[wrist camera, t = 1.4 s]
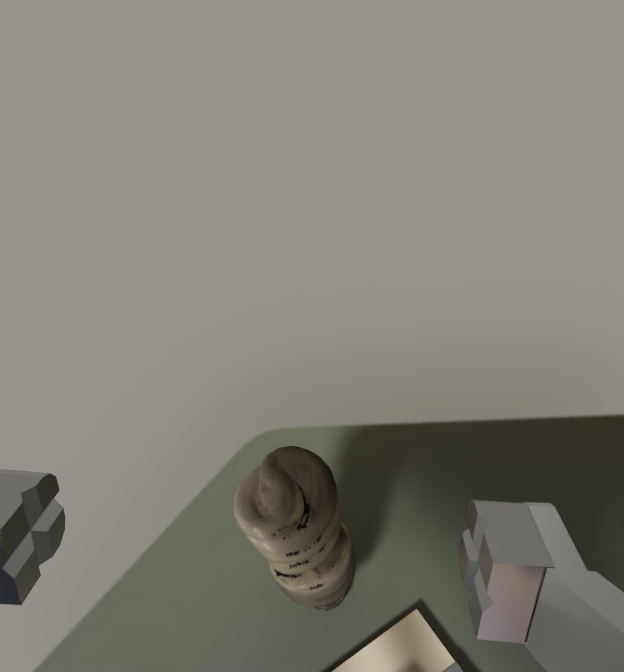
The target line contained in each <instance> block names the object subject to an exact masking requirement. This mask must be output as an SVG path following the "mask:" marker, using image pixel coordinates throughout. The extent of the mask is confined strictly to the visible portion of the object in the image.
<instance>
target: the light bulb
mask: <svg viewBox="0 0 624 672" xmlns="http://www.w3.org/2000/svg"><path fill="white" fill-rule="evenodd" d="M234 516H235V520H236V522H237V524H238V526H239V527H240V528H241V530H242V531H244V533H245V535H246V537H247V538H248V539H249V541H250V542H251V543H252V544H253V545H254V546H255V547H256V549H257V550H258V552H259V553H260V554H261V555H262V556H263V557H265V558H266V559H268V563H269V568H270V570H271V572H272V574H273V576H274V578H275V580H276V582H277V584H278V585H279V586H280V588H281V589H282V590H283V592H284V593H285V594H286V595H287V596H288V597H289V598H290V599H291V600H292V601H294V602H296V603H299V604H302V605H305V606H311V607H314V608H316V609H318V610H319V609H324V610H330V609H332V608H334V607H337V606H339V604H340V603H341V602H342V601H343V599H344V598H345V596H346V591H347V588H348V587H349V585H350V584H351V581H352V579H353V575H354V570H355V557H354V551H353V545H352V541H351V538H350V535H349V533H348V530H347V528H346V526H345V525H344V524H343V523H342V522H341V516H340V508H339V499H338V494H337V487H336V483H335V480H334V477H333V474H332V472H331V470H330V468H329V466H328V465H327V464H326V463H325V462H324V461H323V460H322V459H321V458H320V457H319V456H318V455H316V454H315V453H313V452H311V451H309V450H307V449H303V448H300V447H296V446H288V447H281V448H278V449H276V450H274V451H273V452H271V453H269V454H268V455H267V456H266V457H265V458H264V460H263V462H262V464H261V466H260V467H258V468H256V469H255V470H254V471H252V472H251V473H250V474H249V475H248V476H247V477H246V478H245V479H244V480H243V481H242V483H241V485H240V486H239V488H238V490H237V493H236V495H235V499H234Z"/></svg>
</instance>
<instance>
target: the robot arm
mask: <svg viewBox="0 0 624 672" xmlns="http://www.w3.org/2000/svg"><path fill="white" fill-rule="evenodd" d="M58 492H59V486H58V482H57V479H56V476H54V475H52V474H49V473H39V472H27V471H16V470H4V469H3V470H0V604H12V605H22V603H23V601H24V600H25V599H26V597H27V596H28V594H29V592H30V591H31V589H32V588H33V586H34V585H35V583H36V582H37V580H38V579H39V577H40V569H39V565H40V564H42V563H43V562H45V561H47V560H48V559H50V558H51V557H53V555H54V554H55V552H56V550H57V549H58V547H59V545H60V543H61V540H62V537H63V533H64V530H65V514H64V509H63V507H62V506H61V505H60V504H59V503H58V502H57V501H56V500H55V499H54V497H55V496H56V494H57V493H58ZM466 520H467V524H468V527H469V528H468V529H467V530H466V531H465V532H464V533H463V534H462V539H461V545H460V566H461V574H462V578H463V583H464V586H465V587H466V588H467V589H468V590H469V591H470V592H471V598H470V603H469V609H470V613H471V617H472V621H473V625H474V629H475V634H476V638H477V639H482V640H491V641H501V642H511V643H521V644H526V645H525V647H526V648H527V649H528V650H529V651H530V653H531V654H532V655H533V656H534V657H535V659H536V660H537V661H538V662H539V663H540V665H541V666H542V667H543V668H544V669H545V671H546V672H624V592H622V591H621V590H620V589H618V588H617V587H616V586H614V585H613V584H612V583H610V582H609V581H608V580H607V579H605V578H604V577H603V576H601V575H600V574H599V573H597V572H596V571H587V569H586V567H585V565H584V563H583V561H582V559H581V557H580V555H579V553H578V551H577V549H576V547H575V545H574V543H573V541H572V539H571V537H570V535H569V533H568V531H567V530H566V528H565V526H564V524H563V522H562V520H561V518H560V516H559V514H558V512H557V510H556V508H555V507H554V506H553V505H552V504H551V503H534V502H523V503H521V502H503V501H485V500H470V501H469V503H468V506H467V511H466Z"/></svg>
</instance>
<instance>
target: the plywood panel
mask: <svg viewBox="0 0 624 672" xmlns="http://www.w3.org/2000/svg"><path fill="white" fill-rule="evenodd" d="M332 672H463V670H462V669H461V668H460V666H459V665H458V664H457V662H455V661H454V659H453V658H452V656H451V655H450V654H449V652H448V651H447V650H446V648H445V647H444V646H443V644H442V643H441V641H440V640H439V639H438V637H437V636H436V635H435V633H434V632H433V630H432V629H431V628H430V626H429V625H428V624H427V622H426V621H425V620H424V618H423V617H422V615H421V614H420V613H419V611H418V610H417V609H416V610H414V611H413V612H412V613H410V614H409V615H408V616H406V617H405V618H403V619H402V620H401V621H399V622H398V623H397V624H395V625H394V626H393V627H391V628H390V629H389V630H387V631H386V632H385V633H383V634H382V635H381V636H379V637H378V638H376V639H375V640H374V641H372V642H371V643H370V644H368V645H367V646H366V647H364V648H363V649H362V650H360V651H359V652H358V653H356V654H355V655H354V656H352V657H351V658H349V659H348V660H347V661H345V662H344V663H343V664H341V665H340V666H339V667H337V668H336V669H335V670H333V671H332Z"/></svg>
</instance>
